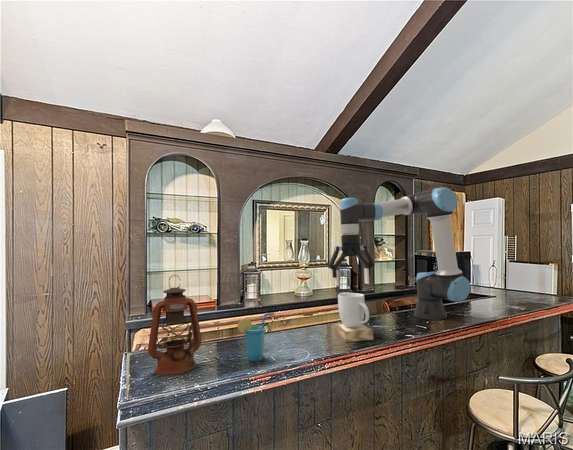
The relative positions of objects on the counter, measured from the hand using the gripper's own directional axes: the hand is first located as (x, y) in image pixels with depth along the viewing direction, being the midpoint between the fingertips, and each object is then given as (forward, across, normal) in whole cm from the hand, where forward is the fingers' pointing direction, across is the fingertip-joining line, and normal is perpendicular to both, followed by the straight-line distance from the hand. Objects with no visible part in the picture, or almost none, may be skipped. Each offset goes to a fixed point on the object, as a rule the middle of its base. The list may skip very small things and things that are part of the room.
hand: (352, 284), depth 135 cm
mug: (+18, 0, 0) cm, 18 cm away
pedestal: (+22, 0, 0) cm, 22 cm away
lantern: (+21, +69, +15) cm, 74 cm away
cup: (+21, +42, +14) cm, 50 cm away
